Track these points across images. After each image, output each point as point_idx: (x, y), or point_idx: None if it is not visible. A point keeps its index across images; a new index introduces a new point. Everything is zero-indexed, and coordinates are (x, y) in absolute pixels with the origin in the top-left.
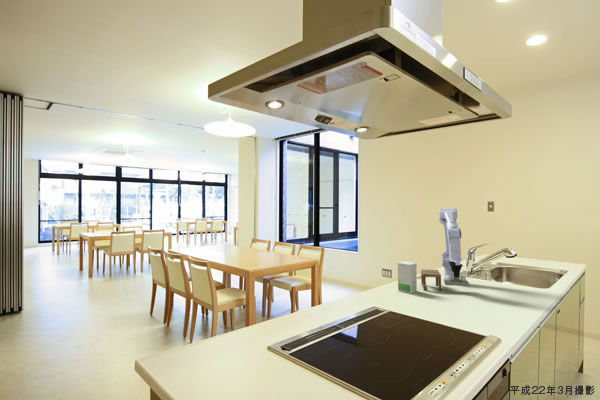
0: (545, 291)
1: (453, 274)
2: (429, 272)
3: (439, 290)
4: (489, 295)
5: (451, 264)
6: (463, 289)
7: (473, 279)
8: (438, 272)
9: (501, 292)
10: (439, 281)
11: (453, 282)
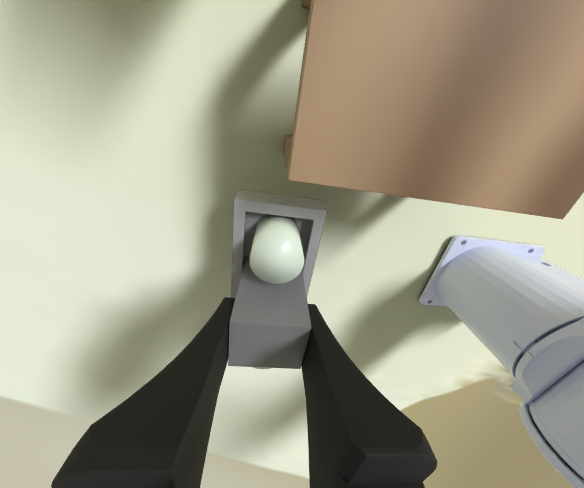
0: (281, 456)
1: (234, 308)
2: (466, 15)
3: (285, 138)
4: None
5: (70, 465)
6: (317, 287)
7: (476, 364)
8: (414, 185)
9: (266, 386)
10: (287, 147)
11: (233, 255)
